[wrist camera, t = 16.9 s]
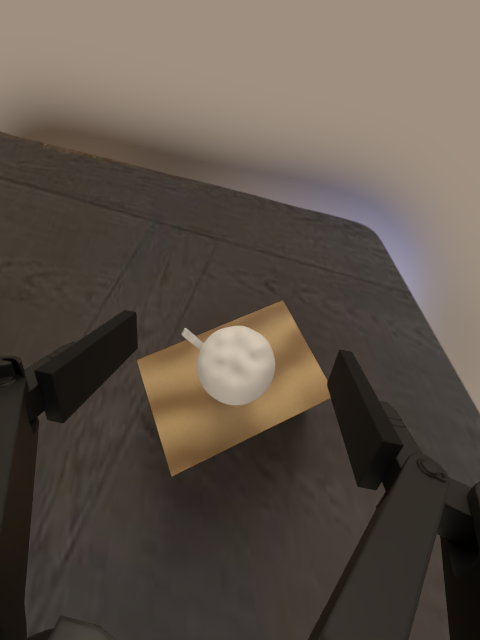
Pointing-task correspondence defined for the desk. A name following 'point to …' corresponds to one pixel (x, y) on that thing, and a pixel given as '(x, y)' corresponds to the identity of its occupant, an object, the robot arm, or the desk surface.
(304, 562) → the desk surface
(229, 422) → the stool
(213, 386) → the milkshake
